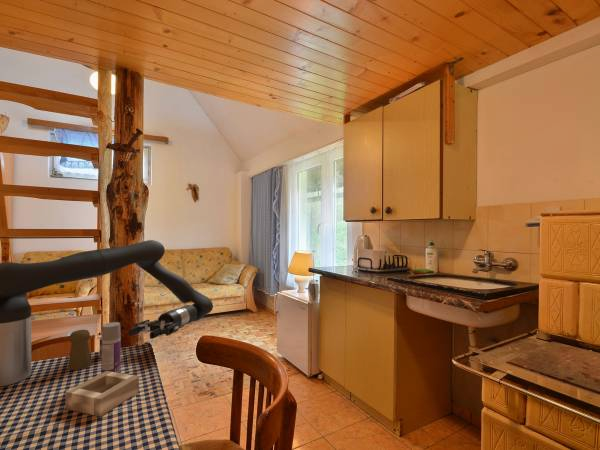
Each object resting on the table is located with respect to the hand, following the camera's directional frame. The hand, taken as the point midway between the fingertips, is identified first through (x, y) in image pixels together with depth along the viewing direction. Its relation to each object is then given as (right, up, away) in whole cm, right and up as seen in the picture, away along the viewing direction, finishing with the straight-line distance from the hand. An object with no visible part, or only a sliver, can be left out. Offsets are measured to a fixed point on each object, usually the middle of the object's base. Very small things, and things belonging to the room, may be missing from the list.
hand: (140, 334), depth 99 cm
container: (-3, -9, -10) cm, 14 cm away
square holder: (+3, -8, -22) cm, 24 cm away
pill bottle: (-13, -9, +4) cm, 16 cm away
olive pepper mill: (-17, -9, -4) cm, 19 cm away
